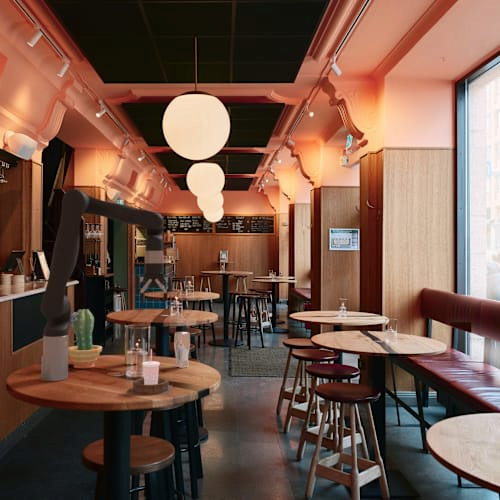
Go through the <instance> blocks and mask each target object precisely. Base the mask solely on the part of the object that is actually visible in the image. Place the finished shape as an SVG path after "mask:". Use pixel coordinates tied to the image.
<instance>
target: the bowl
mask: <svg viewBox="0 0 500 500" xmlns="http://www.w3.org/2000/svg"><path fill="white" fill-rule="evenodd" d="M169 381H170V380H169V379H168V378H165V377H159V376H158V384H154V385H144V377H141V378H138V379H134V380H133V382H132V388H133V389H134V392H136V393H140V394H139V395H158V394H157V393H162V392H165V391H167V390H168V387H169V385H170V383H169Z"/></svg>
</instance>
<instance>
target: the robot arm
mask: <svg viewBox="0 0 500 500" xmlns="http://www.w3.org/2000/svg"><path fill="white" fill-rule="evenodd" d="M60 214H61V215H60V221H59V222H60V223H59V227H58V230H57V234H56V239H55V242H54V248H53V250H52V251H53V252H52V257H51V263H50V268H49V273H48V278H47V279H48V280H47V284H46V288H45V290H44V294H43V297H42V300H41V303H40V311H41V314H42V315H43V316H44V317H45V319H46V318H47V322H46V325H45V327H44V328H43V338H42V339H43V343H42V344H43V346H42V347H43V348H42V349H43V354H42V355H41V359H40V361H41V365H40V367H41V369H40V379H41V380H40V381H47V382H57V381H64V380H67V379H69V377H68V376H69V353H68V348H69V332H70V331H69V330H70V328H71V324H70V320H71V314H72V305H71V301H70V299H69V297H68V296H67V295H66V289H67V284H68V282H69V280H70V277H71V276H72V274H73V272H74V270H75V268H76V264H77V261H78V256H79V250H80V224H81V221H82V218H83V214H89V215H94V216H95V215H96V216H100V217H104V218H107V219H110V220H113V221H116V222H120V223H124V224H127V225H128V224H129V225H132V226H139V227H142V228H146V239H145V254H144V276H140V275H139V276H137V277H136V278H135V279H136V282H135V283H136V284H135V291H136V292H138V293H140V299H139V300H140V302H141V303H145V295H146V294H145V291H146V290H147V289H148V288H160V289H161V291H163V299H162V301H163V304H164V303H165V304H166V302H167V301H168V293H170V292H172V291H173V282H172V281H173V280H172V277H171V276H166V277H165V273H164V271H165V270H164V269H165V268H164V265H165V263H164V262H165V255H164V239H163V238H164V227H165V225H164V223H165V221H164V218H163V215H161V214H160V213H159V212H157V211H151V210H148V209H147V210H146V209H141V208H138V207H134V206H130V205H127V204H123V203H116V202H112V201H111V202H110V201H105V200H102V199H99V198H95V197H94V196H91V195H89V194H86V193H85V192H83V191H82V190H80V189H76V188H75V189H74V188H73V189H69V190H68V191H67V192H65V194H64V195H63V197H62V202H61V213H60ZM143 281H144V283H145V284H144V285H143V286H142V288H141V283H142V282H143ZM164 281H166V283H167V285H168V289H167V288H166V287H165V285H164V284H163V282H164Z"/></svg>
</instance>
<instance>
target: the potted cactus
mask: <svg viewBox="0 0 500 500" xmlns="http://www.w3.org/2000/svg"><path fill="white" fill-rule="evenodd" d="M94 324H95V317H94V315H93V314H92V312H91V311H90V310H89V308H87V309H85V308H83V309H78V310H77V312H76V311H75V312H73V313H71V320H70V327H72V330H73V332H74V334H75V339H76V344H77V345H74V346H68V357H69V359H70V361H71V362H72V364H73V368H74V369H89V368H93V367H95V366H96V365H95V364H96V362H97V360H98V359H99V357H100V353H101V352H102V351H103V346H101V345H94V344H93V332H94V331H93V330H94V327H95V326H94Z"/></svg>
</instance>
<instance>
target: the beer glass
mask: <svg viewBox="0 0 500 500" xmlns="http://www.w3.org/2000/svg"><path fill="white" fill-rule="evenodd" d="M190 333H191V332H189V331H176V332H174V338H173V339H174V342H173V344H174V345H173V346H174V352H175V364H174V367H175V368H176V367H179V368H178V369H184V368H183V367H187V368H189V367H190V366H189V365H190V364H189V354H190V347H191V334H190Z"/></svg>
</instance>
